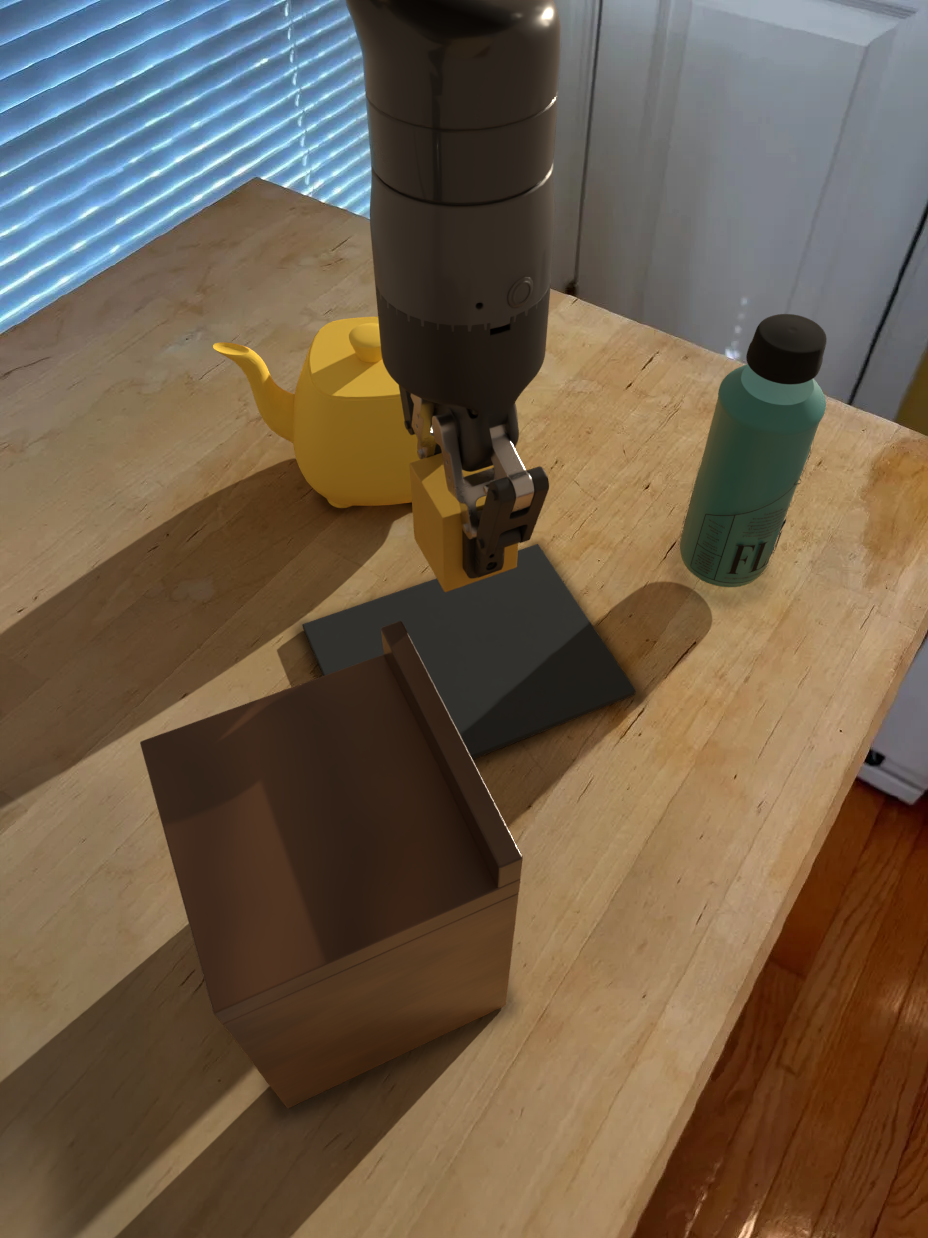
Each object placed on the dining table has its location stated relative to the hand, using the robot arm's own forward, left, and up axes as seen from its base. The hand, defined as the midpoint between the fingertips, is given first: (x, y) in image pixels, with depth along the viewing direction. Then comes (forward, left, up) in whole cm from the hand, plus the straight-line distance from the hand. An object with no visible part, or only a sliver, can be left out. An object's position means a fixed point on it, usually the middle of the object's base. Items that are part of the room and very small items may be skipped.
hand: (464, 538), depth 53 cm
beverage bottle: (+20, 0, -12) cm, 23 cm away
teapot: (+1, +20, -12) cm, 24 cm away
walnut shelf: (-13, -15, -12) cm, 23 cm away
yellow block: (0, 0, -1) cm, 1 cm away
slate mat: (0, 0, -12) cm, 12 cm away
